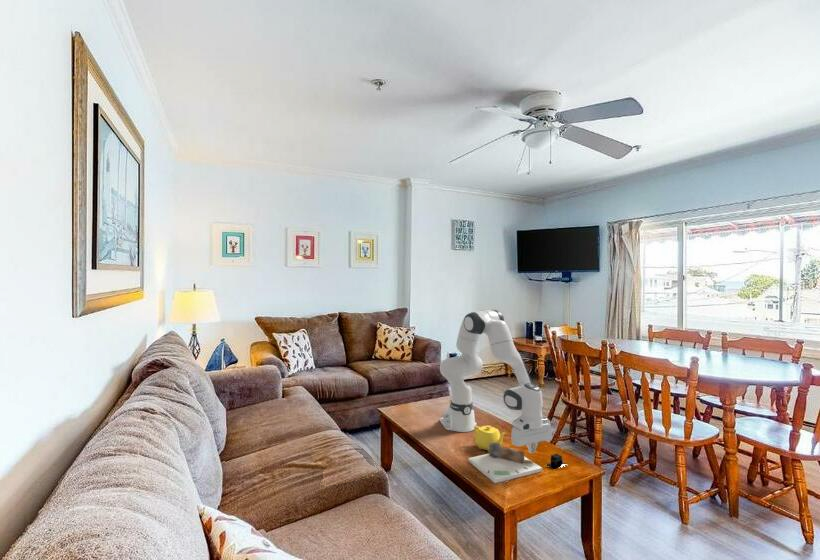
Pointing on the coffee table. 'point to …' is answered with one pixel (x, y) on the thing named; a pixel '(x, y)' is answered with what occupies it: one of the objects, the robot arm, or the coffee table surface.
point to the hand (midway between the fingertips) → (531, 452)
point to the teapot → (487, 436)
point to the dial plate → (503, 467)
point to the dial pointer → (507, 453)
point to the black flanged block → (556, 461)
